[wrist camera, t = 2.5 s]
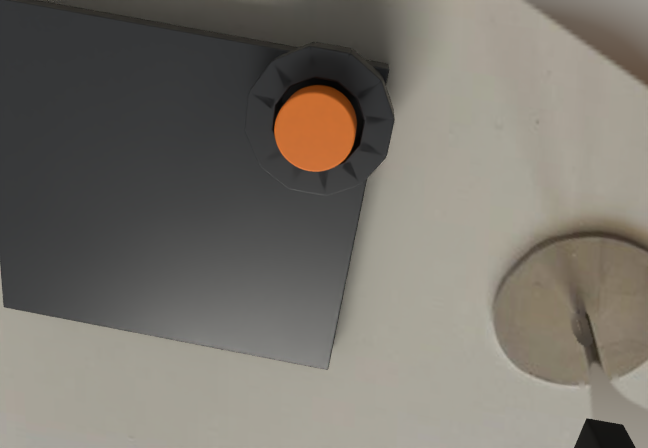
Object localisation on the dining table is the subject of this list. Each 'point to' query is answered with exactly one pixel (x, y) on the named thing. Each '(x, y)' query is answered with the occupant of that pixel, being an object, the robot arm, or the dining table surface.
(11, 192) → the scale
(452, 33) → the dining table surface
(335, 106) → the button
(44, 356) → the dining table surface
